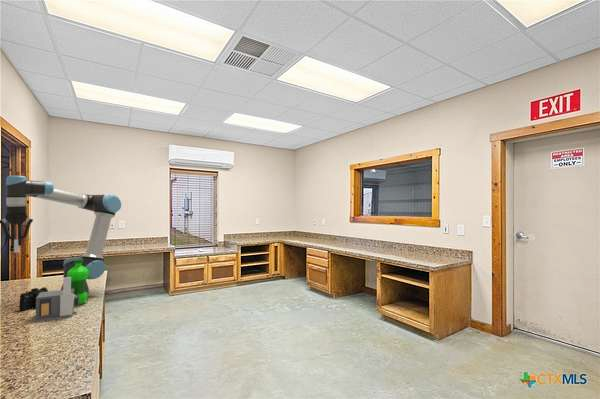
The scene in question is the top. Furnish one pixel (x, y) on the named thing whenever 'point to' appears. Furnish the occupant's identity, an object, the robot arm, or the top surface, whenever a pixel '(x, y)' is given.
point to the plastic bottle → (79, 280)
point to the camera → (30, 298)
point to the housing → (51, 305)
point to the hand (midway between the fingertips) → (16, 252)
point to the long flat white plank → (66, 298)
